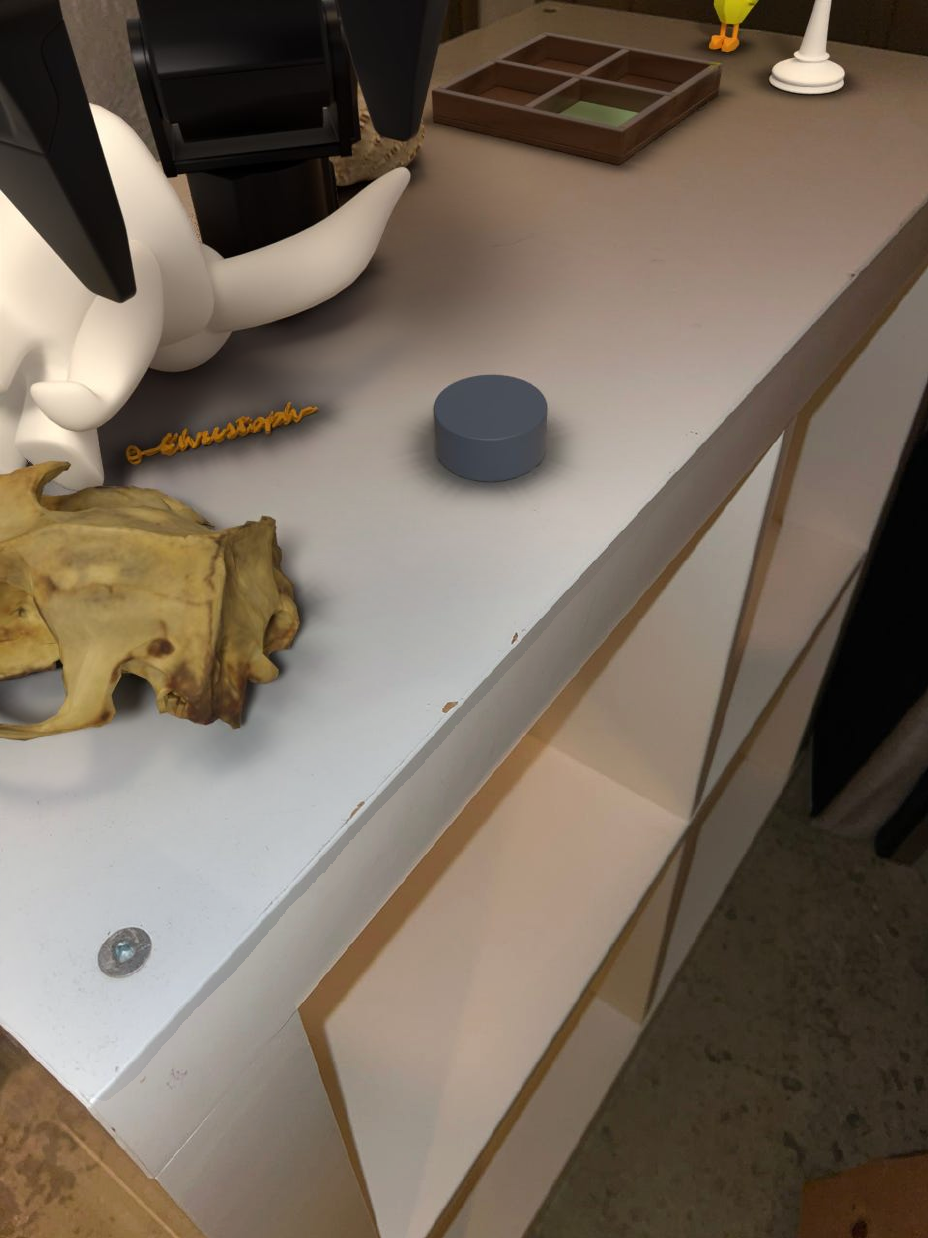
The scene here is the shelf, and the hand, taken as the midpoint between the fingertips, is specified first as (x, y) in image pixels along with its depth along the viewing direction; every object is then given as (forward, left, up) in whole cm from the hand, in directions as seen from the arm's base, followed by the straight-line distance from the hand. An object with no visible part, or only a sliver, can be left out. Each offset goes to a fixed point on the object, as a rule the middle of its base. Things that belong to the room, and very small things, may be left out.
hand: (272, 206), depth 21 cm
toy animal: (-3, +14, -11) cm, 18 cm away
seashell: (+28, +23, -14) cm, 39 cm away
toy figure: (+61, +15, -14) cm, 64 cm away
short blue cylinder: (+11, +2, -14) cm, 18 cm away
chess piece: (+57, +7, -14) cm, 59 cm away
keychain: (+5, +11, -14) cm, 19 cm away
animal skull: (-3, +5, -17) cm, 18 cm away
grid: (+45, +18, -14) cm, 50 cm away
